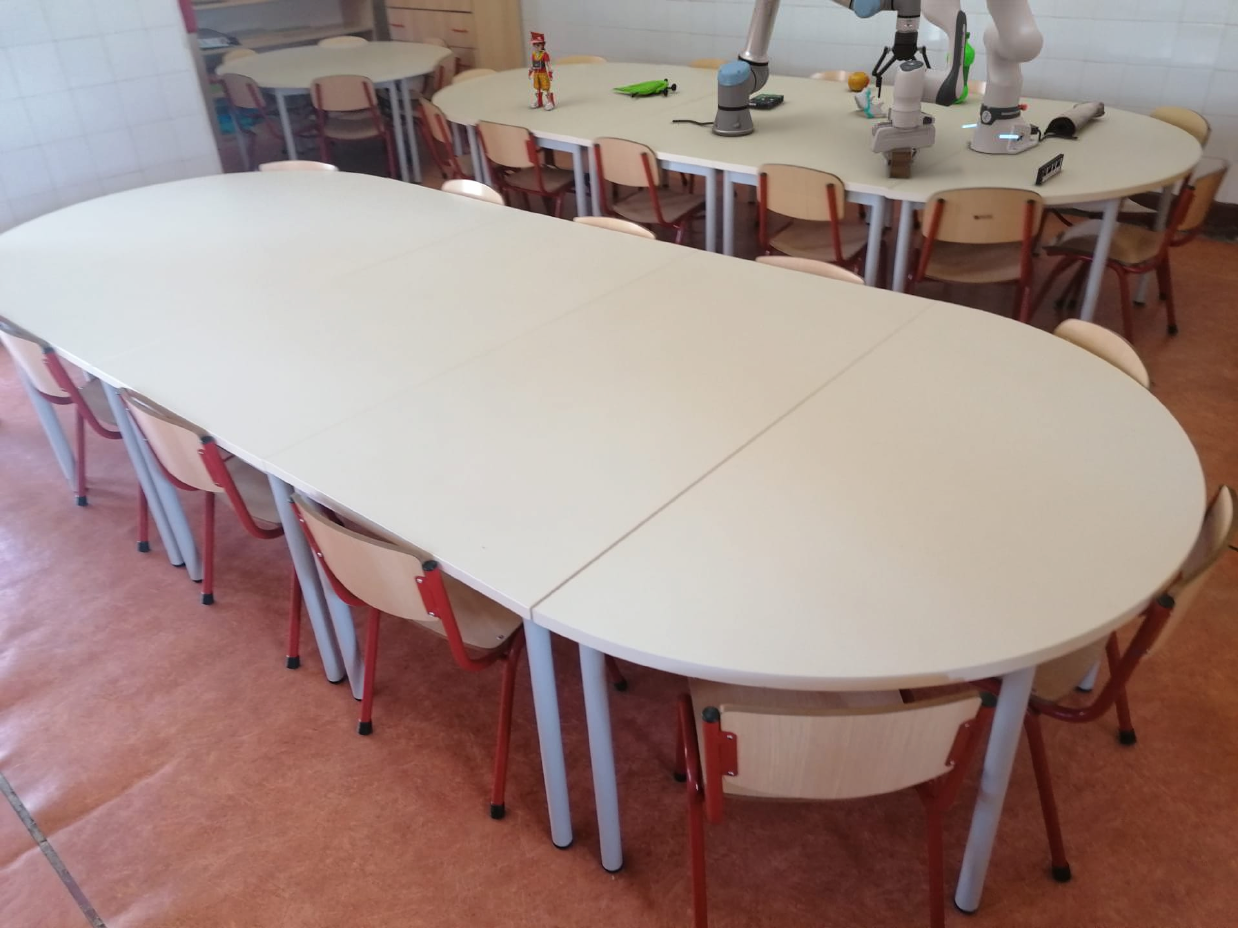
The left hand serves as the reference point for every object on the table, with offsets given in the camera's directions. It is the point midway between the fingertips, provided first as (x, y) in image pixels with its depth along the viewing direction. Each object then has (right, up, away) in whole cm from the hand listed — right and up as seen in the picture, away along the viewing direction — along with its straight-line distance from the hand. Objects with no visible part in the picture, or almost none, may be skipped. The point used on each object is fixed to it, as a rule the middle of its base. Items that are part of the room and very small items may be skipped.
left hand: (898, 97), depth 313 cm
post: (-4, -23, -10) cm, 25 cm away
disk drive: (-38, +18, +53) cm, 68 cm away
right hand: (-9, -33, -28) cm, 44 cm away
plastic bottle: (+35, +15, +41) cm, 56 cm away
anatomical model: (-1, +7, +34) cm, 35 cm away
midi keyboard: (+34, -41, -39) cm, 65 cm away
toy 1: (-131, +24, +70) cm, 150 cm away
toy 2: (-88, +36, +84) cm, 127 cm away
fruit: (+3, +30, +66) cm, 72 cm away
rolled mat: (+63, -9, +4) cm, 64 cm away
